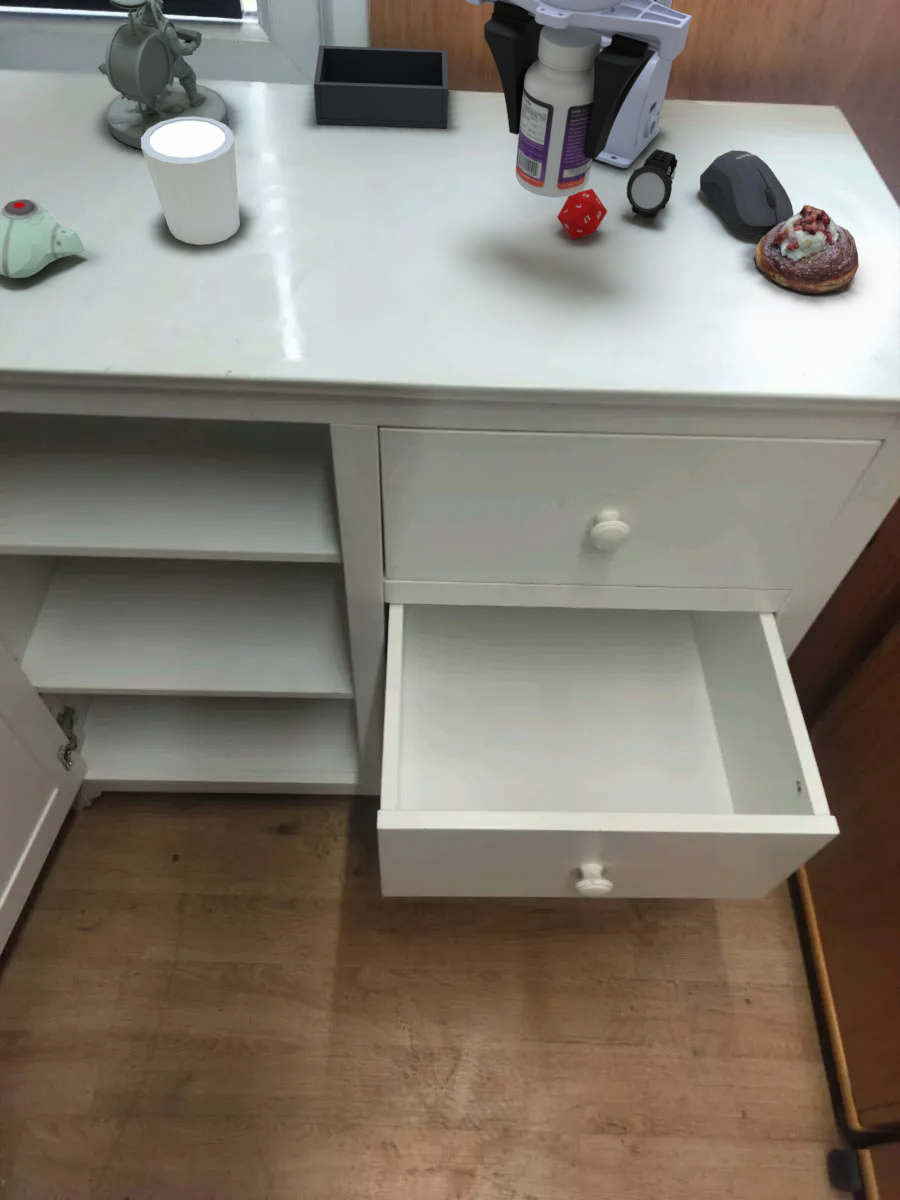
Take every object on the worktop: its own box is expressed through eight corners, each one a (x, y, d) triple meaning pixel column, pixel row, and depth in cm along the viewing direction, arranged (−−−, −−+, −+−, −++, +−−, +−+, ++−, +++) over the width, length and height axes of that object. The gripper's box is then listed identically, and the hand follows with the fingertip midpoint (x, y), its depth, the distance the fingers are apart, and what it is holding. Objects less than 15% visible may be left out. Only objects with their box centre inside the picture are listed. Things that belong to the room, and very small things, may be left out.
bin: (445, 88, 86) (447, 49, 83) (446, 128, 82) (448, 88, 79) (322, 84, 86) (319, 45, 83) (316, 124, 81) (313, 84, 79)
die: (546, 208, 73) (567, 185, 69) (581, 199, 74) (604, 176, 70) (560, 250, 73) (583, 230, 69) (595, 240, 74) (619, 220, 71)
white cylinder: (144, 236, 70) (121, 148, 64) (190, 193, 74) (172, 106, 68) (220, 258, 69) (203, 170, 63) (263, 213, 73) (251, 127, 67)
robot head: (67, 301, 66) (97, 241, 69) (49, 256, 62) (81, 194, 66) (-38, 285, 66) (-3, 226, 69) (-62, 239, 63) (-24, 179, 66)
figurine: (249, 107, 83) (227, -43, 73) (190, 163, 77) (158, 7, 67) (149, 84, 84) (115, -66, 75) (84, 136, 78) (38, -19, 69)
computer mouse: (741, 245, 73) (757, 199, 69) (684, 186, 77) (697, 140, 74) (799, 233, 74) (817, 187, 71) (739, 176, 79) (754, 131, 76)
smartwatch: (612, 213, 75) (624, 154, 71) (653, 193, 77) (666, 135, 73) (649, 235, 73) (663, 177, 69) (689, 214, 75) (705, 156, 71)
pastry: (737, 267, 71) (758, 208, 67) (778, 228, 75) (800, 170, 71) (830, 308, 68) (857, 250, 64) (867, 266, 72) (895, 208, 68)
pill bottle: (588, 163, 66) (613, 18, 58) (587, 203, 63) (614, 56, 55) (516, 156, 66) (531, 11, 58) (512, 196, 63) (527, 48, 55)
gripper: (446, -103, 51) (438, 134, 62) (681, -43, 47) (628, 197, 58) (502, -136, 55) (486, 93, 66) (725, -83, 51) (667, 150, 62)
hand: (556, 139), depth 62 cm, fingers closed on pill bottle, 5 cm apart
